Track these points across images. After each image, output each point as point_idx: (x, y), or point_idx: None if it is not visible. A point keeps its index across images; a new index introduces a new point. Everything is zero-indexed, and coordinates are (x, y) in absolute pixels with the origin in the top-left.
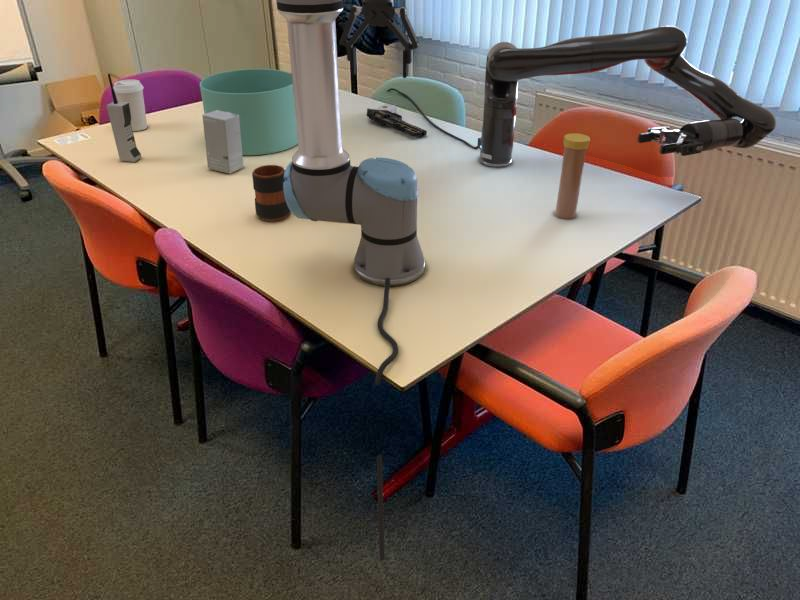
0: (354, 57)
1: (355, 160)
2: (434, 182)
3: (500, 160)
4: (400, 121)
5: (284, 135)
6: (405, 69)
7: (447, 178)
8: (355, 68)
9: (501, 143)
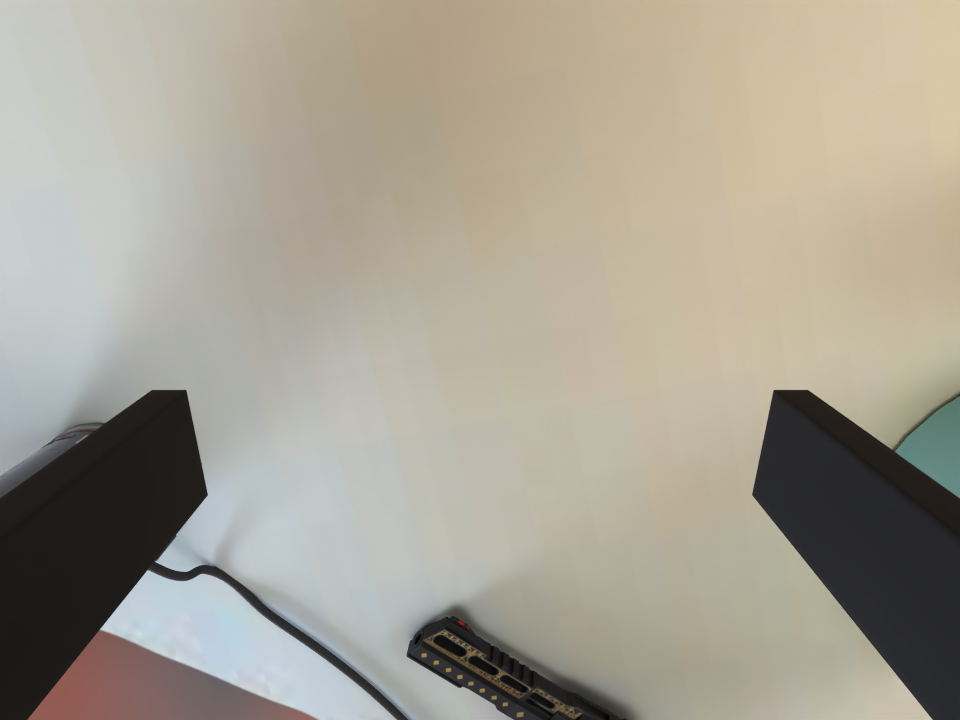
0: (903, 557)
1: (615, 393)
2: (263, 241)
3: (56, 439)
4: (513, 705)
5: (949, 468)
6: (91, 437)
7: (227, 291)
8: (794, 482)
9: (3, 476)
